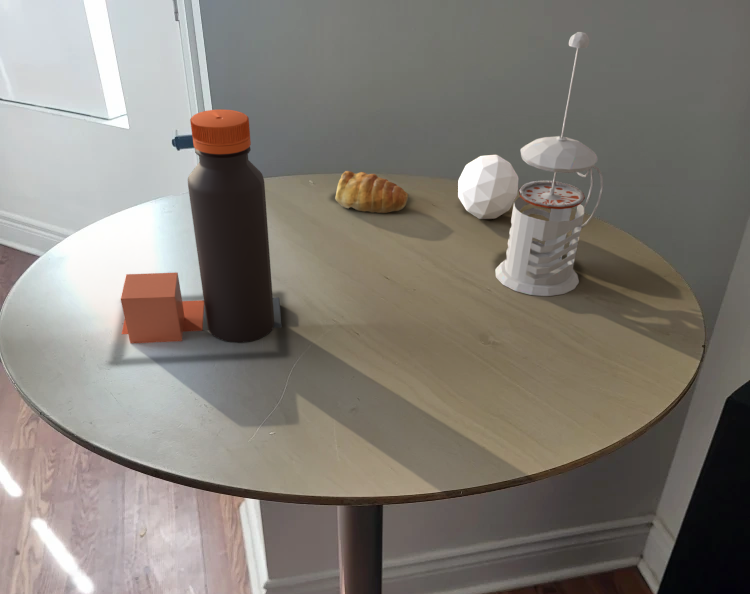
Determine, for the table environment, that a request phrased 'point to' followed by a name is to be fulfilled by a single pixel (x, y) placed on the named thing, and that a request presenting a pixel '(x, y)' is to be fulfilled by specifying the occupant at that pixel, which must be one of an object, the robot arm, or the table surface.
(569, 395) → the table surface
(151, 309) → the terracotta block
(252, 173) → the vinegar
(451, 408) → the table surface
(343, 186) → the pastry
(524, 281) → the french press
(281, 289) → the table surface
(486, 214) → the geometric ball
